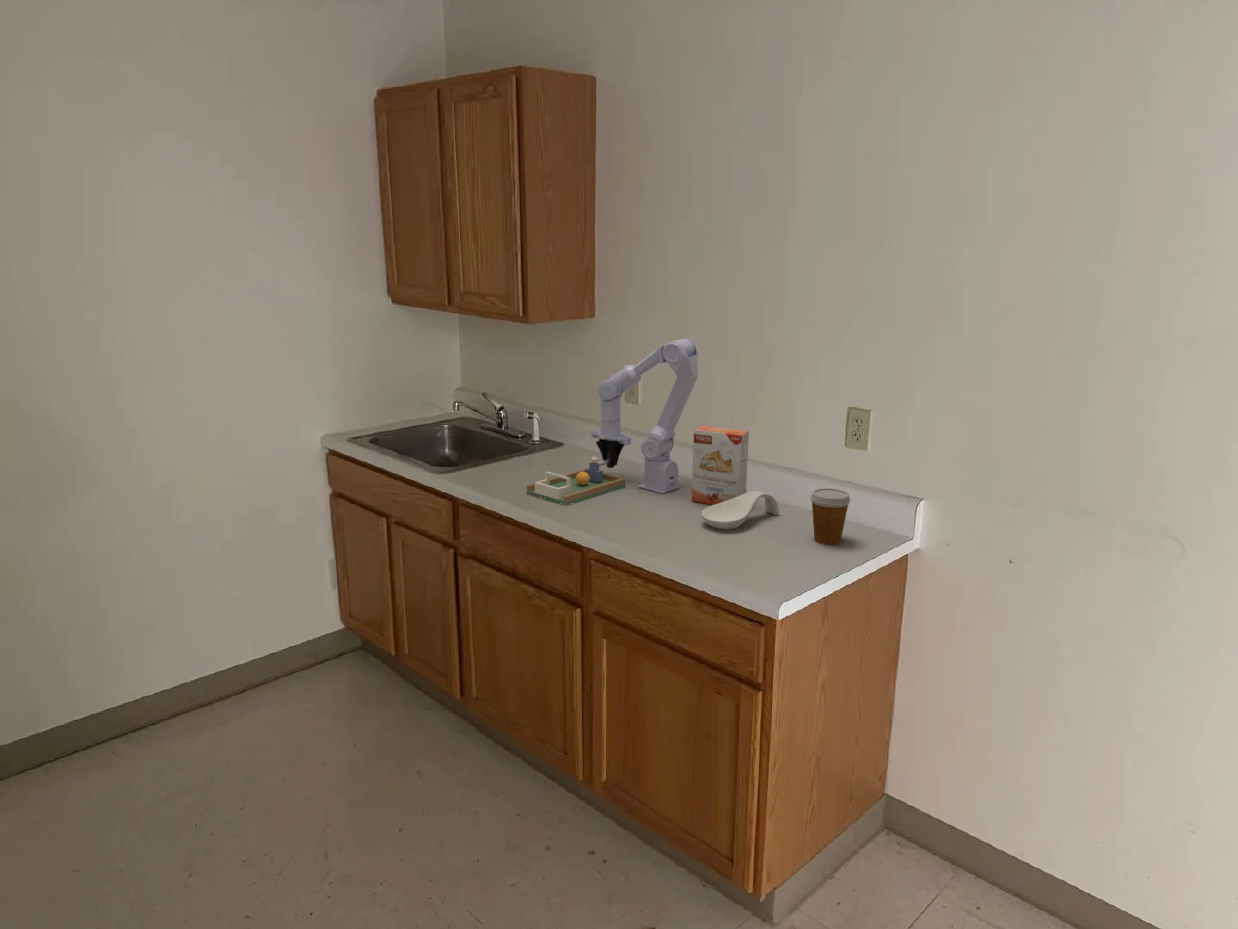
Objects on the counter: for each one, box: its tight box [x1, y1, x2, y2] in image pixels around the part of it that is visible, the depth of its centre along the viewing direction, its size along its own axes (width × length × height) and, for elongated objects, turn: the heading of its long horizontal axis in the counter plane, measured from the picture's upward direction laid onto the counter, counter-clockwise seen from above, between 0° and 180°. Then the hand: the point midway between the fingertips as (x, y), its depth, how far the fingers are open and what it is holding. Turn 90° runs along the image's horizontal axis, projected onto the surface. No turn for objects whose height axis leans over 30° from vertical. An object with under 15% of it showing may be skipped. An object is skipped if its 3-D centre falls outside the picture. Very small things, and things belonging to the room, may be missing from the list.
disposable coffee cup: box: [809, 487, 852, 546], centre depth 217 cm, size 10×10×12 cm
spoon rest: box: [701, 490, 780, 531], centre depth 231 cm, size 24×12×7 cm, turn 128°
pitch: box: [526, 468, 626, 506], centre depth 257 cm, size 16×24×6 cm, turn 138°
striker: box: [585, 451, 615, 483], centre depth 264 cm, size 5×9×7 cm, turn 138°
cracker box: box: [691, 425, 750, 506], centre depth 244 cm, size 14×6×21 cm, turn 62°
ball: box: [576, 472, 590, 485], centre depth 259 cm, size 4×4×4 cm
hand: (610, 464), depth 267 cm, fingers closed on striker, 2 cm apart
